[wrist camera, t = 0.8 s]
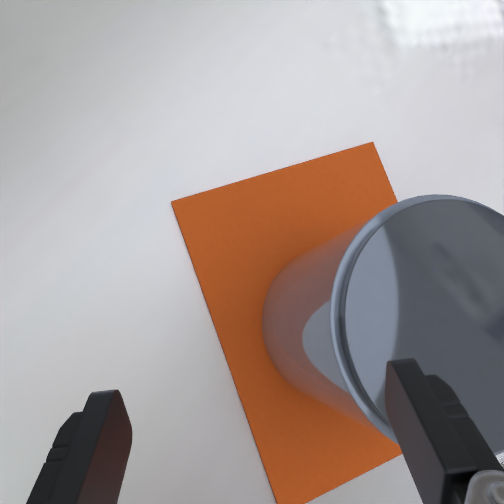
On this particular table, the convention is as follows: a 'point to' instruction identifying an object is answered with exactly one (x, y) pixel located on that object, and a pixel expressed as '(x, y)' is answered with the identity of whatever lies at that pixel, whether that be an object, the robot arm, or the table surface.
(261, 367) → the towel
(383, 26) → the table surface
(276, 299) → the crock
